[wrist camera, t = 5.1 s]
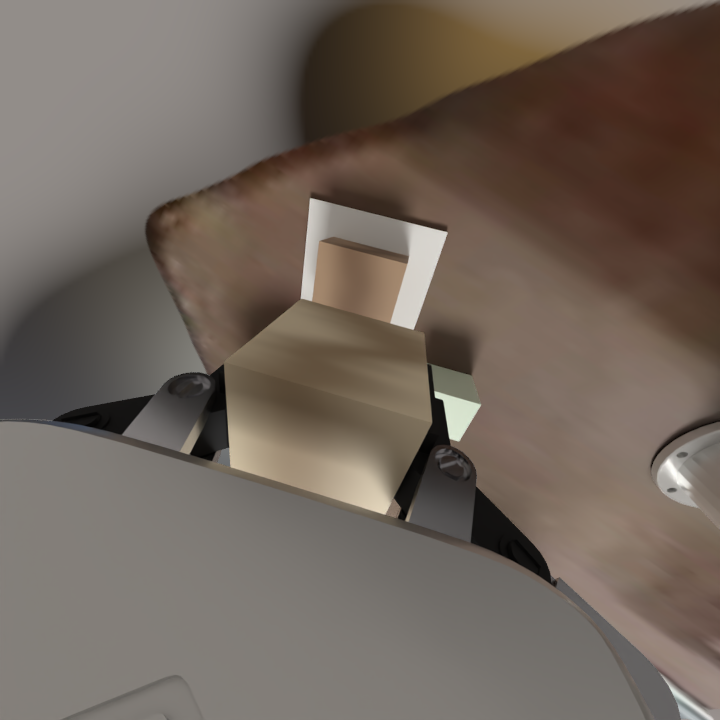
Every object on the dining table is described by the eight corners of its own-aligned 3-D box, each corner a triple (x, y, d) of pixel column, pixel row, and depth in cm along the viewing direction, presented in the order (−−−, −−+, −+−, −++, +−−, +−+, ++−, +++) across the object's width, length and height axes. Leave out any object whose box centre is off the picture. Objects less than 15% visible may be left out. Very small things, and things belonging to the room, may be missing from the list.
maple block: (424, 332, 10) (432, 423, 6) (388, 422, 13) (376, 530, 9) (301, 298, 10) (224, 362, 6) (291, 394, 13) (231, 485, 9)
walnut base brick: (409, 256, 23) (407, 264, 20) (388, 327, 27) (384, 344, 23) (333, 236, 24) (319, 240, 20) (323, 309, 27) (309, 323, 24)
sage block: (471, 375, 28) (480, 404, 24) (453, 409, 31) (459, 441, 27) (426, 362, 29) (427, 389, 24) (412, 397, 31) (411, 426, 27)
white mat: (447, 232, 22) (447, 232, 22) (405, 352, 28) (405, 354, 28) (311, 198, 23) (310, 198, 22) (299, 323, 29) (298, 324, 29)
